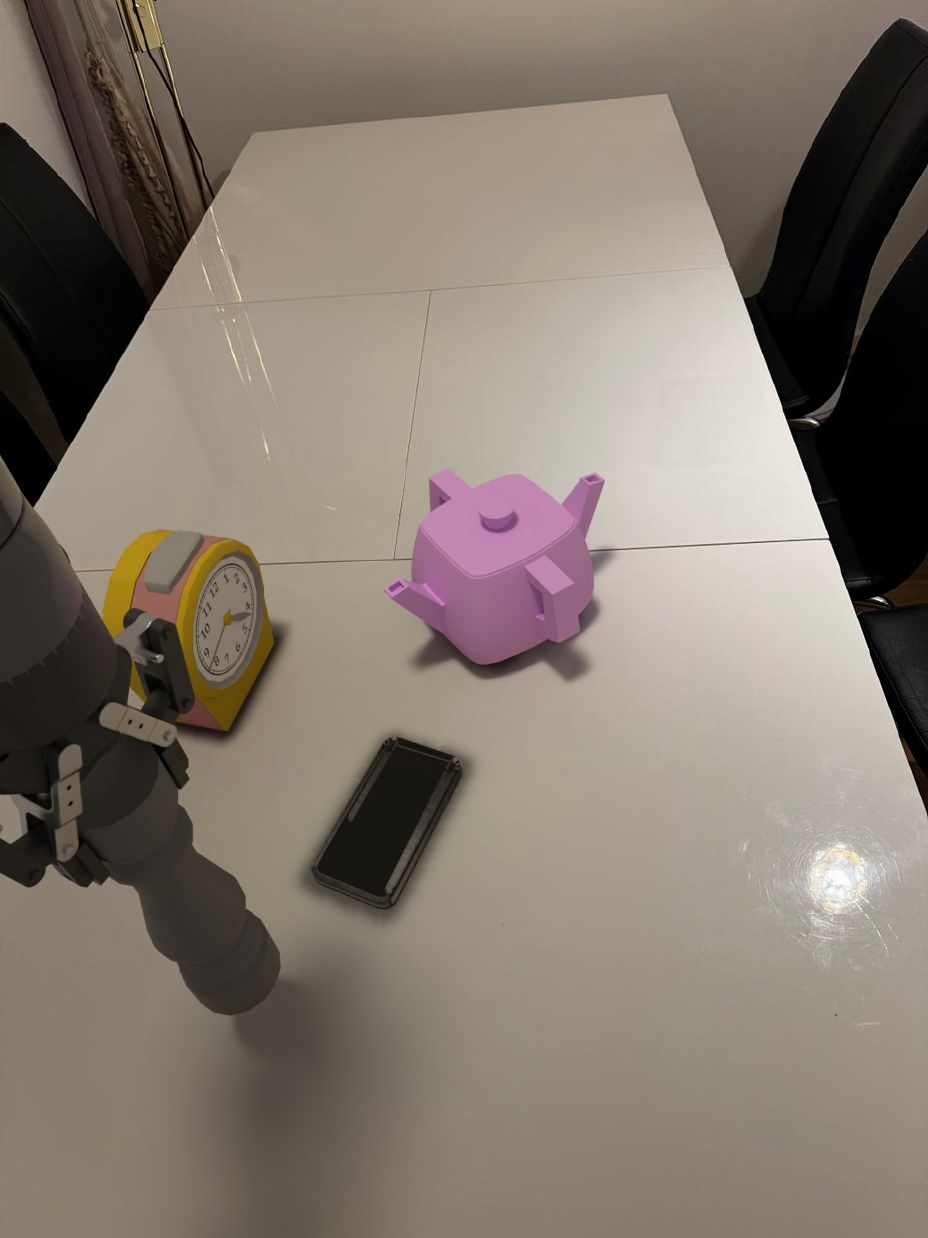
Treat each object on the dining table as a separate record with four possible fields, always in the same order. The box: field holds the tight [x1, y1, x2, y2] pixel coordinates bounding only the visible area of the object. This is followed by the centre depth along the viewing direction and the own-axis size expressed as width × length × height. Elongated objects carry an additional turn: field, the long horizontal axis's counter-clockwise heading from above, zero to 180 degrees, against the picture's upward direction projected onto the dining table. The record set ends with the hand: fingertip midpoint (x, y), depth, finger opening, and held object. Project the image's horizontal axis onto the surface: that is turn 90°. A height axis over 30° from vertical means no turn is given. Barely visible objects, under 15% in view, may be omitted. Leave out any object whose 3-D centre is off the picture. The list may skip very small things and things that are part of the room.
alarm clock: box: [101, 528, 275, 732], centre depth 86 cm, size 15×8×18 cm, turn 164°
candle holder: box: [76, 733, 282, 1017], centre depth 55 cm, size 6×6×25 cm
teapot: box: [382, 467, 606, 665], centre depth 90 cm, size 19×18×15 cm
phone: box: [310, 736, 462, 909], centre depth 80 cm, size 8×1×15 cm
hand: (133, 824), depth 49 cm, fingers closed on candle holder, 5 cm apart
